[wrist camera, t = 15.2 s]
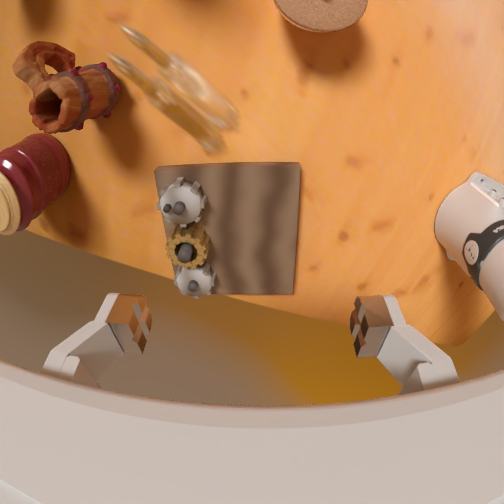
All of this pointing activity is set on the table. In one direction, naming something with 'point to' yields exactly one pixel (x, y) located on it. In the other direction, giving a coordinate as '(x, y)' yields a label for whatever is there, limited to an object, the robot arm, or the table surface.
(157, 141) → the table surface
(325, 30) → the lidded jar
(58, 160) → the canister
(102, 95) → the mug
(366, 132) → the table surface
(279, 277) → the gear board
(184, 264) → the brass gear
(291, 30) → the table surface
